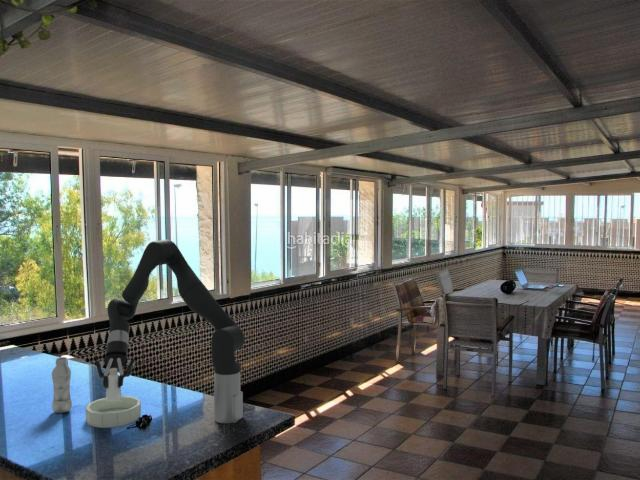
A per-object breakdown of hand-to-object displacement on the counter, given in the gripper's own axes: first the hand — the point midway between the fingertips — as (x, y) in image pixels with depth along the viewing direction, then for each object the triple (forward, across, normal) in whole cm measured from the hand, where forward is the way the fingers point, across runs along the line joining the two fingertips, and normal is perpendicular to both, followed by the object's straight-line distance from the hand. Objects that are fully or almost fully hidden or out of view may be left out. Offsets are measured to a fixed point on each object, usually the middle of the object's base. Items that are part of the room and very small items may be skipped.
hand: (112, 386), depth 189 cm
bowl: (+7, 0, +10) cm, 12 cm away
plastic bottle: (0, -20, +17) cm, 26 cm away
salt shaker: (+2, 0, +5) cm, 6 cm away
